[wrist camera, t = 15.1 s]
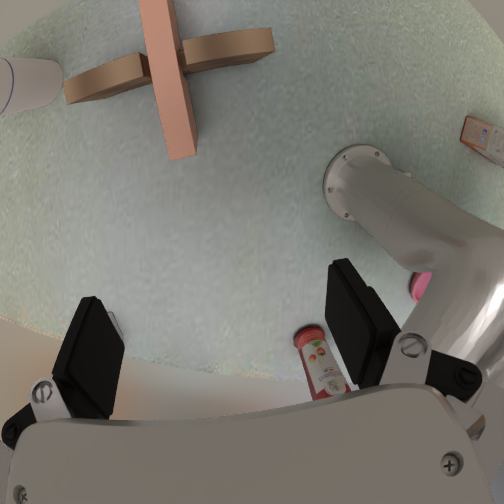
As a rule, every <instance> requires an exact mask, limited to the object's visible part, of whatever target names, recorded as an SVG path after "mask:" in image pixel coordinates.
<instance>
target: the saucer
mask: <svg viewBox="0 0 504 504" xmlns="http://www.w3.org/2000/svg"><path fill="white" fill-rule="evenodd" d="M432 273H433V272H430V273H419V272H416V273H415V275H414V277H413V280H412V285H411V297H412V299H413V300H414V301H415V302H416V303H418V301H419V300H420V298H421V296H422V295H423V293H424V291H425V288H426V286H427V285H428V283H429V281H430V279H431V276H432Z"/></svg>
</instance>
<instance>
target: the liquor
mask: <svg viewBox="0 0 504 504" xmlns="http://www.w3.org/2000/svg"><path fill="white" fill-rule="evenodd" d="M324 337H325V332H324V331H323V330H322V329H320V328H314V327H309V328H306V329H304V330H302V331H301V332H300V333H299V334H298V335H297V336H296V338H295V339H294V345H295V347H296V348H298V351H299V354H300V357H301V360H302V363H303V367H304V370H305V373H306V377H307V381H308V385H309V388H310V392H311V396H312V399H313V401H314V400H319V399H323V398H328V397H332V396H336V395H340V394H344V393H348V392H351V389H350V387H349V385H348V383H347V381H346V379H345V377H344V375H343V374H342V372H341V370H340V368H339V366H338V364H337V362H336V360H335V358H334V356H333V354H332V352H331V350H330V348H329V346H328V344H327V342H326V340H325V338H324Z"/></svg>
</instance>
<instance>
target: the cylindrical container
mask: <svg viewBox="0 0 504 504" xmlns="http://www.w3.org/2000/svg"><path fill="white" fill-rule="evenodd" d="M62 84H63V72H62V69H61V67H60V65H59V64H58V63H57V62H55V61H53V60H45V59H31V58H0V118H1V117H4V116H8V115H11V114H15V113H19V112H23V111H27V110H31V109H35V108H39V107H44V106H46V105H48V104H50V103H51V102H52V101H54V99H55V98H56V97H57V96H58V94H59V92H60V90H61V87H62Z"/></svg>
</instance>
